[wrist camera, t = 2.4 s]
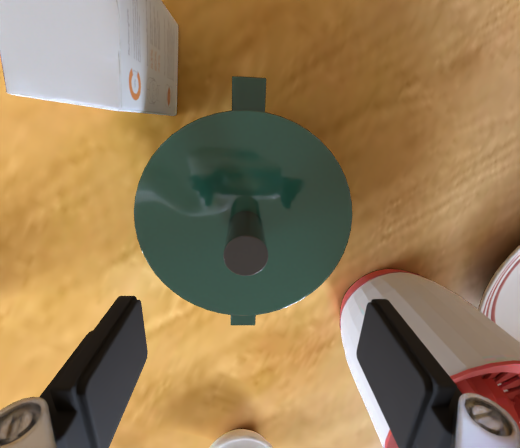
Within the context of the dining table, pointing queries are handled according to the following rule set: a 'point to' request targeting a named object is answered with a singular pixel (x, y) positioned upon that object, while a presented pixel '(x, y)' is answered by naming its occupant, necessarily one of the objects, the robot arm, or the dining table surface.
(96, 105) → the small box
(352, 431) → the dining table surface
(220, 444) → the spoon rest
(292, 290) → the lid
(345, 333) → the citrus juicer
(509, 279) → the dinner plate
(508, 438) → the robot arm
